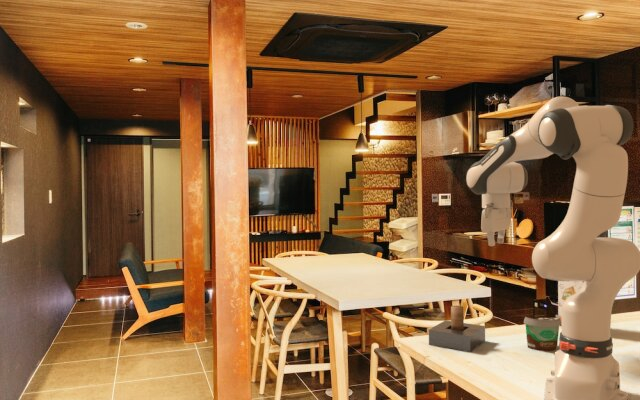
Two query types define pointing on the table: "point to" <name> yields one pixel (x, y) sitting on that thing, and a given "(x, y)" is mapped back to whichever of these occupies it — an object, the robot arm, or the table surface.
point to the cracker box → (567, 292)
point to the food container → (542, 333)
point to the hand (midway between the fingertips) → (496, 244)
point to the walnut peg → (457, 318)
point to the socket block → (457, 336)
